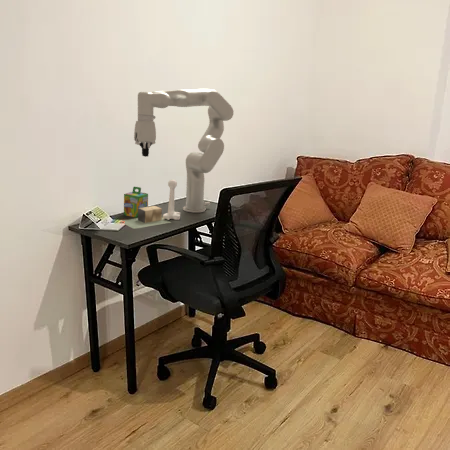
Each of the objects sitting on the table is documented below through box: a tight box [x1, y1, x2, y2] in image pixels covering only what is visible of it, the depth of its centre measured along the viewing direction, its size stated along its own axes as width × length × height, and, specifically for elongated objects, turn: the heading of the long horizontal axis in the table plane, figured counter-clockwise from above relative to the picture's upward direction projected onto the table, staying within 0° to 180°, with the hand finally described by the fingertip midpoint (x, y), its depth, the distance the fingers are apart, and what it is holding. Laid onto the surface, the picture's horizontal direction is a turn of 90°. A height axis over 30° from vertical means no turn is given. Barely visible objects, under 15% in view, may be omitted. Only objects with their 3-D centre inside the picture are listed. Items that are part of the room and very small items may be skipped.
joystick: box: [162, 179, 181, 221], centre depth 240 cm, size 11×8×20 cm
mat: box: [122, 217, 172, 230], centre depth 234 cm, size 21×15×1 cm
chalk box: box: [123, 186, 149, 218], centre depth 243 cm, size 9×9×15 cm
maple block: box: [138, 205, 163, 223], centre depth 236 cm, size 6×6×10 cm
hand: (145, 156), depth 235 cm, fingers closed
